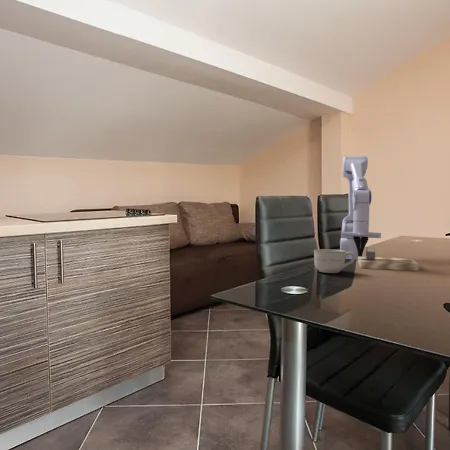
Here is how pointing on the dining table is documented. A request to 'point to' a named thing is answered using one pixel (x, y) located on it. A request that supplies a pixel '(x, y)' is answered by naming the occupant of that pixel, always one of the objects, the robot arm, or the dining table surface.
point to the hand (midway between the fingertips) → (360, 256)
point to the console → (388, 263)
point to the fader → (370, 253)
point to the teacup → (331, 260)
